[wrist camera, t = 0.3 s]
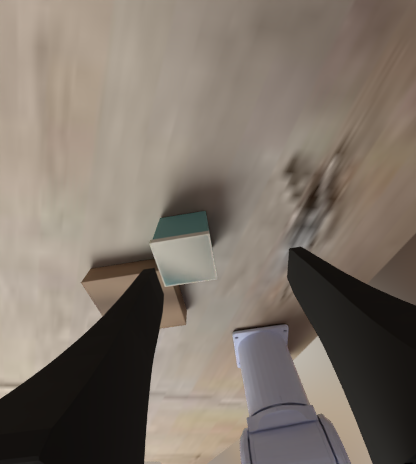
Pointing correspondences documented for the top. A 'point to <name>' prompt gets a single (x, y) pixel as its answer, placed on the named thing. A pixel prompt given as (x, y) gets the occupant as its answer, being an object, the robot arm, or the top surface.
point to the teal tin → (184, 249)
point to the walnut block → (117, 282)
